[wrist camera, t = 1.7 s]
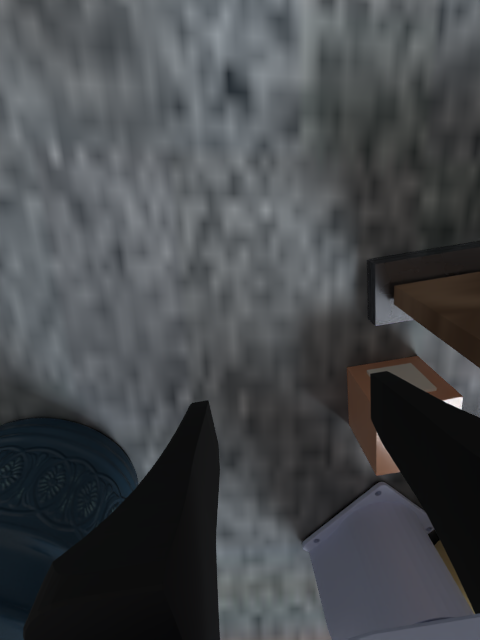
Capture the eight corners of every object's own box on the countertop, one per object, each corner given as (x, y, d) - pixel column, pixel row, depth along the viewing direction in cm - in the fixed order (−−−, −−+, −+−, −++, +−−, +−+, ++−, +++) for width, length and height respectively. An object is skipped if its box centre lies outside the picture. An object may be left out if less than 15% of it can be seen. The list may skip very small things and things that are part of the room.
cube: (348, 423, 27) (376, 475, 22) (346, 364, 25) (376, 408, 20) (413, 412, 27) (455, 462, 22) (416, 352, 25) (463, 393, 20)
